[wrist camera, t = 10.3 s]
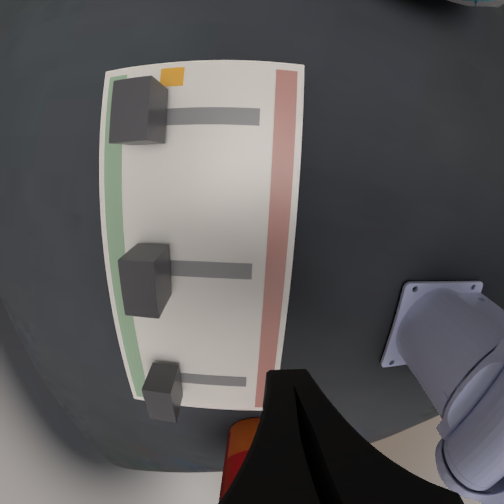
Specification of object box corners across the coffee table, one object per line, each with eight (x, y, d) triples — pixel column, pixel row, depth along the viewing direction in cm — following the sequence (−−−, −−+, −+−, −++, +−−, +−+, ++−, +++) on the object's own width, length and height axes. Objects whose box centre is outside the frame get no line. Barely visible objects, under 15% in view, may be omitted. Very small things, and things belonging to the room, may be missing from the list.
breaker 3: (178, 365, 19) (170, 393, 16) (183, 394, 20) (176, 422, 17) (152, 362, 19) (141, 389, 16) (158, 391, 20) (150, 418, 17)
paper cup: (269, 456, 26) (276, 563, 13) (206, 439, 25) (193, 556, 11) (311, 420, 24) (337, 546, 11) (241, 399, 23) (239, 547, 9)
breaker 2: (168, 244, 16) (153, 261, 13) (171, 294, 17) (159, 318, 14) (137, 243, 16) (117, 259, 13) (142, 291, 17) (125, 315, 14)
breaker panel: (299, 72, 15) (304, 64, 13) (272, 398, 23) (273, 410, 21) (115, 77, 15) (105, 71, 13) (138, 387, 22) (133, 399, 21)
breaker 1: (168, 89, 14) (151, 75, 11) (164, 143, 14) (146, 140, 12) (135, 92, 13) (113, 80, 11) (132, 145, 14) (108, 143, 12)
